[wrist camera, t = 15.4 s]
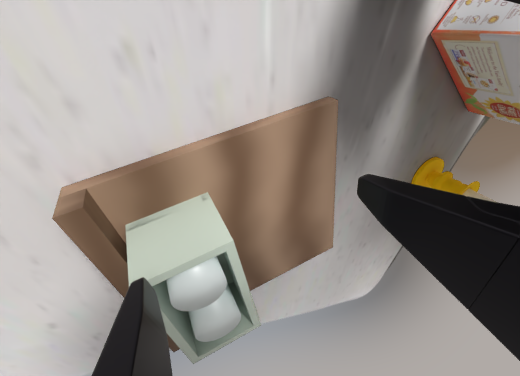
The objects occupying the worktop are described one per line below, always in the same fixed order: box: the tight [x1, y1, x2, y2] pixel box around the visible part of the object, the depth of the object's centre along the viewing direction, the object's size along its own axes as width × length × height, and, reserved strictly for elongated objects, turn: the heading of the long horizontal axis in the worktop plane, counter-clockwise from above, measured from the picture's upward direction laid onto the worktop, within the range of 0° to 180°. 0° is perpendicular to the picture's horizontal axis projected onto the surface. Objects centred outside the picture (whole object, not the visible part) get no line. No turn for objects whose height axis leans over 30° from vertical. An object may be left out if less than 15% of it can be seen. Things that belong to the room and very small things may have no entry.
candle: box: [411, 157, 498, 203], centre depth 28 cm, size 5×5×16 cm
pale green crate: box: [125, 192, 261, 364], centre depth 20 cm, size 6×11×6 cm, turn 10°
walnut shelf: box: [52, 97, 338, 352], centre depth 23 cm, size 20×18×3 cm
